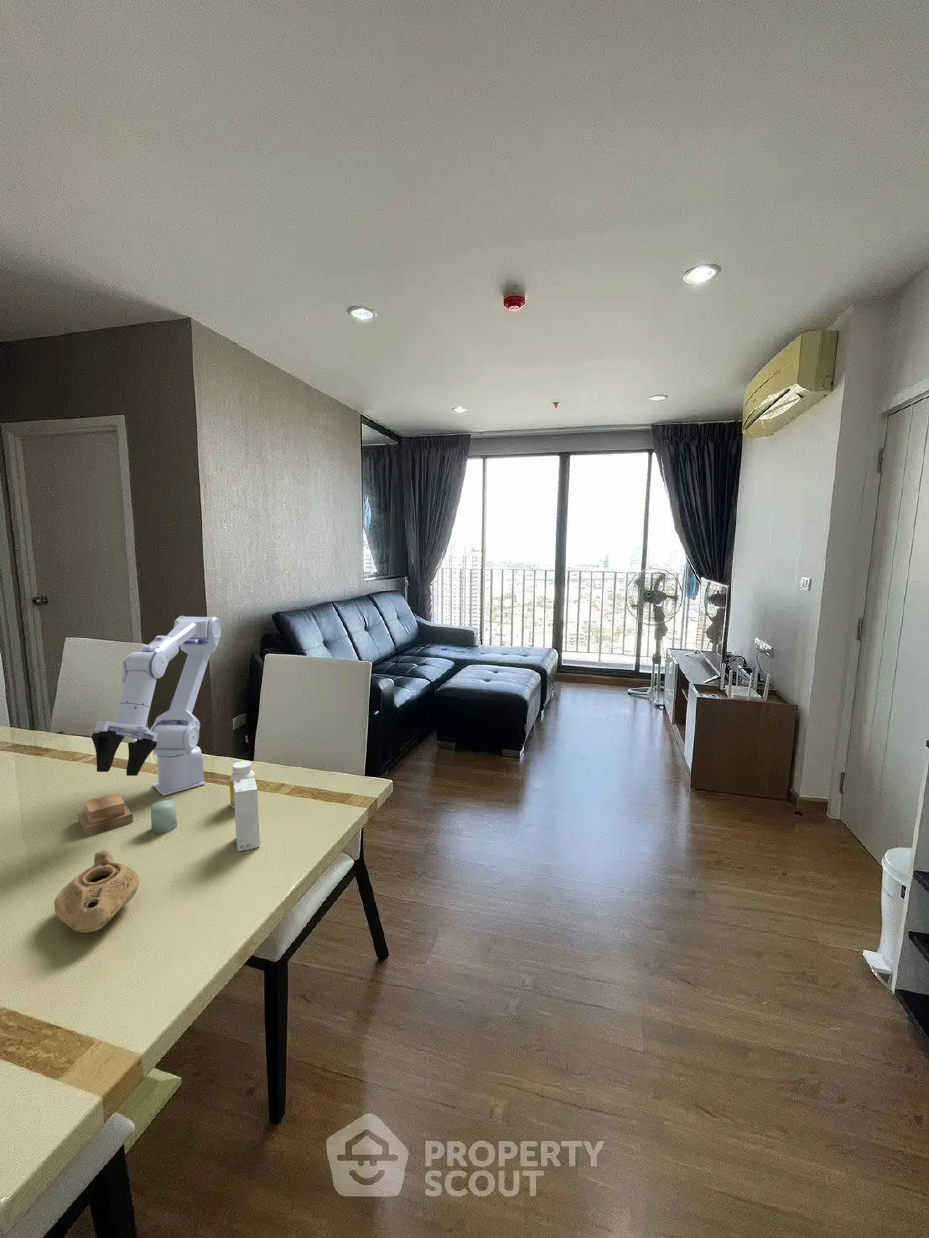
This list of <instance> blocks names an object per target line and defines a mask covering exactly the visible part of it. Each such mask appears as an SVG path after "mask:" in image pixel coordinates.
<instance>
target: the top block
mask: <svg viewBox="0 0 929 1238" xmlns="http://www.w3.org/2000/svg"><path fill="white" fill-rule="evenodd" d="M124 803H125V802H124V799H123V798H122V796H121V794H120V793H119V792H116V793H113V794H109V795H106V796H105V795H104V796H101V797H97V798H94V799H90V800H86V801H85V800H84V806H85V811H86V814H87V817H88V819H89V822H90V824H92V823H95V822H99V821H102V820H106V819H109V818H113V817H117V816H120V815H124V814H125V805H126V803H125V804H124Z"/></svg>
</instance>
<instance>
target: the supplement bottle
mask: <svg viewBox="0 0 929 1238" xmlns="http://www.w3.org/2000/svg"><path fill="white" fill-rule="evenodd" d="M252 768H253V765H252V762H251V761H249V760H242V761H241V760H240V761H237V762H235V763H233V764H232V773H231V774H230V775H229V796H230V798H229V799H230V806H231V807H232V808H233V809H235V806H234V785H233V782H234V781H238V780H243V779H249V778H255V779H256V773H255V772H254V771H253V769H252Z"/></svg>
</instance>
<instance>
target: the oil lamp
mask: <svg viewBox="0 0 929 1238" xmlns="http://www.w3.org/2000/svg"><path fill="white" fill-rule="evenodd" d="M93 860H94V862H93V865H91V866H90V867H88V868H86V869H85V870H84V871H83V872H81V873H79V874H77V875H76V876H75V877H74V878H73V879H72V881H70V882H68V884H66V885H65V886H64V887H63V888H62V889H61V890H60V891H59V893H58V894H57V895H56V897H55V899H54V901H53V905H54V912H55V914H56V916H57V918H59V920H61V922H63V923H65V924H66V925H67V926H68V927H69V928H70V929H72V930H73V931H75V932H79V933H93V932H95V931H99V930H101V929H102V928H104V927H105V926H106V925H107V924H108V923H109V921H111V919H113V917H115V915H116V914H118V912H119V911H121V909H123V907H125V905H127V904H128V903H129V902H130V901H131V900H132V899H133V898H134V896H135V895H136V893H137V891H138V889H139V886H140V885H139V884H140V882H139V881H140V880H139V877H138V873H137V872H136V871H135V870H134V869H132V868H131V867H128V866H126V865H124V864H121V863H120V862H115V860H114V859H113V856H112V854H111V853H110V852H109V850H108V849H104V848H103V849H100V850H98V851H97V852H95V854H94V859H93Z"/></svg>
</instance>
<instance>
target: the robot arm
mask: <svg viewBox="0 0 929 1238" xmlns="http://www.w3.org/2000/svg"><path fill="white" fill-rule="evenodd" d="M173 624H174V625H173V629H171V630H170V632H169V633H167V635H156V636H155V638H154V639H153V640H152V641H150V642H149V644H147V645H146V646H145V647H144V648H142V649H141V650H139V651H132V652H131V653H130V654H127V656H126V657H125V659H124V660H123V661H122V668H121V669H122V678H121V683H122V684H123V686H122V690H121V693H120V698H119V702H118V706H117V709H116V713H115V718H114V721H108V720H97V721H96V724H95V726H94V730H93V731H94V732H93V733H92V735H91V740H92V742H93V745H94V748H95V755H96V773H97V772H98V773H109V772H110V770H111V768H112V765H113V762H114V759H115V756H116V754H117V753H116V752H117V750H118V748H119V746H120V744H121V743H122V741H123V739H124V738H128V739H129V738H130V739H133V740H134V741H132V742H127V746H128V761H127V766H126V771H125V772H126V777H133V776H134V777H136V776H138V775H139V773H140V771H141V770H142V768H143V765H144V764H145V762H146V760H147V759H148V757H149V756H150V754H151V753H152V751H153V755H156V761H157V762H156V763H157V764H156V765H157V779H158V780H157V782H153V783H152V786H153V787H154V788H155V789H156V790H157V792H158V793H159V794H161V796H163V797H164V796H167V795H171V794H175V793H178V792H179V793H180V792H182V791H185V790H188V789H192V788H196V787H199V786H203V785H204V784H205V785H206V782H205V780H204V777H205V775H204V759H203V753H202V749H201V748H200V747H199V746H198V745H197V744H198V743H199V738H200V728H201V723H200V720H199V719H198V717H196V716H195V715H194V714H193V711H194V708H195V704H196V701H197V698H198V695H199V691H200V688H201V685H202V681H203V678H204V675H205V672H206V669H207V666H208V663H209V660H210V656H211V654H212V653H215V652H216V649H217V647H218V644H219V641H220V638H221V635H222V628H221V627H222V626H221V621H220V619H219V618H218V617H217V616H185V615H179V617H177V618H176V619H175V620H174V623H173ZM179 648H180V649H179ZM180 650H181V651H182V652H184V653H185V654H187V656H186V660H185V663H184V665H183V669H182V671H181V673H180V677H179V680H178V683H177V687H176V689H175V692H174V695H173V698H172V700H171V703H170V707H169V710H167V711H165V712H163V713H162V714H160V715H158V716H156V718H155V720H154V723H153V725H152V726H151V727H150V728H149V727H147V723H148V718H149V714H150V710H151V706H152V701H153V696H154V693H155V689H156V685H157V681H158V680H157V679H161V677H163V676H164V675H165V672H166V669H167V667H168V665H169V662H170V661H172V660H173V659H174V657H176V656H177V655H178V653H179V651H180Z"/></svg>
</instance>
